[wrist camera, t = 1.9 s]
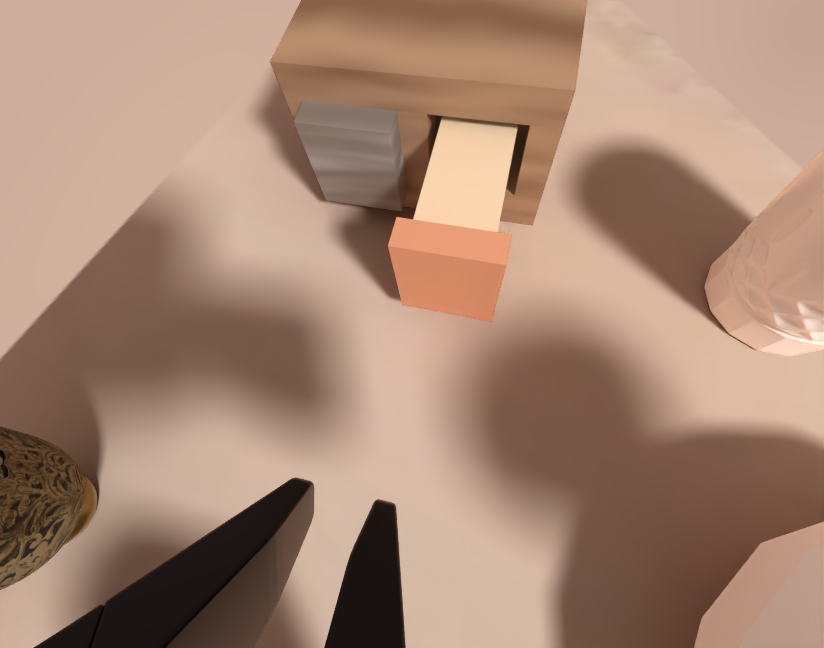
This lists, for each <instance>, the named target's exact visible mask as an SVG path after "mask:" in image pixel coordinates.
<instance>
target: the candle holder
mask: <svg viewBox="0 0 824 648" xmlns="http://www.w3.org/2000/svg"><path fill="white" fill-rule="evenodd" d="M694 648H824V522H821V523H818V524H815V525H812V526H809V527H806V528H803V529H800V530H797V531H794V532H791V533H788V534H785V535H782V536H779V537H776V538H773V539H770V540H767V541H765V542H762V543H760V545H759V546H758V547H757V549H756V550H755V551H754V552H753V554H752V555H751V556H750V557H749V559H748V560H747V561H746V562H745V564H744V565H743V566H742V568H741V569H740V570H739V571H738V573H737V574H736V575H735V576H734V578H733V579H732V580H731V581H730V583H729V584H728V585H727V587H726V588H725V589H724V590H723V592H722V593H721V594H720V595H719V597H718V598H717V599H716V600H715V602H714V603H713V604H712V606H711V607H710V608H709V609H708V611H707V612H706V613H705V614H704V616H703V617H702V619H701V622H700V626H699V630H698V634H697V638H696V642H695V646H694Z"/></svg>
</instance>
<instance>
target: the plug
mask: <svg viewBox="0 0 824 648" xmlns="http://www.w3.org/2000/svg"><path fill="white" fill-rule="evenodd" d="M517 128H518V124H512V123H503V122H494V121H485V120H476V119H466V118H457V117H448V116H442V119H441V123H440V126H439V130H438V133H437V137H436V140H435V144H434V147H433V151H432V154H431V158H430V161H429V165H428V169H427V172H426V176H425V179H424V183H423V186H422V190H421V193H420V197H419V200H418V204H417V208H416V211H415V215H414V218H413V219H407V218H400V217H396V220H395V224H394V227H393V230H392V234H391V237H390V240H389V244H388V248H389V253H390V257H391V261H392V265H393V269H394V273H395V277H396V281H397V286H398V290H399V294H400V298H401V302H402V305H405V306H411V307H416V308H421V309H427V310H432V311H437V312H443V313H448V314H454V315H459V316H464V317H470V318H475V319H480V320H486V321H491V322H492V319H493V315H494V311H495V307H496V303H497V299H498V296H499V292H500V288H501V284H502V280H503V276H504V272H505V269H506V264H507V259H508V253H509V248H510V242H511V236H512V234H506V233H499V232H498V227H499V222H500V217H501V212H502V206H503V201H504V196H505V191H506V186H507V180H508V175H509V170H510V165H511V160H512V154H513V149H514V144H515V139H516V134H517Z"/></svg>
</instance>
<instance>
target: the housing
mask: <svg viewBox="0 0 824 648" xmlns="http://www.w3.org/2000/svg"><path fill="white" fill-rule="evenodd" d="M586 6H587V0H301V2H300V4H299V6H298V8H297V10H296V12H295V14H294V16H293V18H292V20H291V22H290V24H289V26H288V27H287V29H286V32H285V33H284V35H283V37H282V39H281V41H280V43H279V45H278V47H277V49H276V51H275V53H274V55H273V57H272V59H271V61H270V63H271V65H272V68H273V70H274V73H275V75H276V78H277V80H278V82H279V85H280V87H281V90H282V92H283V95H284V97H285V99H286V102H287V104H288V107H289V109H290V112H291V114H292V116H293V119H294V125H295V127H296V130H297V132H298V134H299V137H300V139H301V142H302V144H303V146H304V149H305V151H306V154H307V156H308V158H309V161H310V163H311V166H312V168H313V170H314V173H315V175H316V178H317V180H318V182H319V185H320V187H321V190H322V192H323V194H324V197H325V199H326V200H328V201H335V202H341V203H348V204H355V205H362V206H368V207H375V208H382V209H388V210H395V211H402V210H403V206H404V207H411V208H417V204H418V200H419V197H420V193H421V190H422V186H423V183H424V179H425V176H426V172H427V169H428V165H429V161H430V158H431V154H432V151H433V147H434V144H435V140H436V137H437V133H438V130H439V126H440V123H441V119H442V116H448V117H457V118H466V119H476V120H485V121H494V122H503V123H512V124H518V128H517V134H516V139H515V144H514V149H513V154H512V160H511V165H510V170H509V175H508V180H507V186H506V191H505V196H504V201H503V206H502V212H501V217H500V221H507V222H514V223H520V224H527V225H533V222H534V219H535V216H536V212H537V209H538V206H539V203H540V200H541V197H542V194H543V190H544V187H545V184H546V181H547V178H548V175H549V172H550V168H551V165H552V162H553V159H554V156H555V153H556V150H557V146H558V143H559V140H560V137H561V134H562V131H563V127H564V124H565V121H566V118H567V115H568V112H569V109H570V105H571V102H572V99H573V96H574V93H575V89H576V81H577V74H578V66H579V59H580V51H581V44H582V36H583V29H584V21H585V14H586Z"/></svg>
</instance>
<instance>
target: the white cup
mask: <svg viewBox="0 0 824 648" xmlns="http://www.w3.org/2000/svg"><path fill="white" fill-rule="evenodd" d="M704 288H705V292H706V296H707V300H708V304H709V308H710V311H711V312H712V314H713V315H714V316H715V317H716V319H717V320H718V321H719V322H720V323H721V325H722V326H723V327H724V328H725V330H726V331H727V332H728V333H729V334H730V335H732V336H734V337H735V338H737V339H739V340H740V341H742V342H744V343H745V344H747V345H749V346H750V347H752V348H754V349H756V350H758V351H763V352H768V353H774V354H779V355H784V356H794V355H798V354H803V353H808V352H813V351H818V350H821V349H824V149H823V151H821V152H820V153H819V154H818V155H817V156H816V158H814V159H813V160H812V161H811V162H810V163H809V164H808V165H807V166H806V167H805V168H804V169H803V170H802V171H801V172H800V173H799V174H798V175H797V176H796V177H795V178H794V179H793V180H792V181H791V182H790V183H789V184H788V185H787V186H786V187H785V188H784V189H783V190H782V191H781V192H780V193H779V194H778V195H777V196H776V197H775V198H774V199H773V200H772V201H771V202H770V203H769V205H768V206H767V207H766V208H765V209H764V210H763V211H762V212H761V213H760V214H759V215H758V216H757V217H756V218H755V219H754V220H753V221H752V222H751V223H750V224H749V225H748V226H747V227H746V228H745V229H744V231H743V233H742V234H741V235H740V237H739V238H738V239H737V240H736V241H735V242H734V243H733V244H732V245H731V246H730V247H729V248H728V249H727V250H726V251H725V252H724V253H723V254H722V255H721V256H720V257H719V258H718V259H717V260H716V261H715V262H714V263H713V264H712V265H711V267H710V270H709V273H708V276H707V279H706V283H705V286H704Z"/></svg>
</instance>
